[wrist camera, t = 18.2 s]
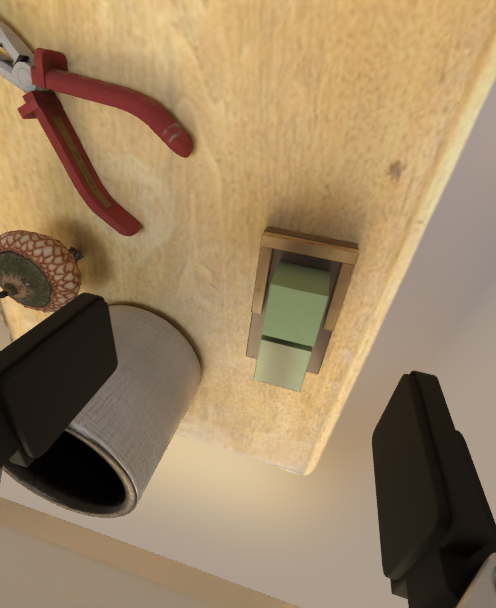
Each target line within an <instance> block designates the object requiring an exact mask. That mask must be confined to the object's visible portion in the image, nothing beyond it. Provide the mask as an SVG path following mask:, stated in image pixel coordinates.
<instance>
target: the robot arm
mask: <svg viewBox="0 0 496 608" xmlns="http://www.w3.org/2000/svg"><path fill="white" fill-rule="evenodd" d="M117 365H118V359H117V353H116V347H115V342H114V336H113V330H112V324H111V318H110V313H109V307H108V304H107V302H105V300H104V298H103V297H101V296H98V295H94V294H90V293H82V294H80V295H78V296H77V297H76V298H74V299H73V300H71V301H70V302H69V303H67V304H66V305H64V306H63V307H62V308H60V309H59V310H57V311H56V312H55V313H53V314H52V315H50V316H49V317H48V318H46V319H45V320H43V321H42V322H41V323H39V324H38V325H36V326H35V327H34V328H32V329H31V330H29V331H28V332H27V333H25V334H24V335H22V336H21V337H20V338H18V339H17V340H15V341H14V342H13V343H11V344H10V345H8V346H7V347H6V348H5V349H3V350H2V351H0V481H1V473H2V467H3V466H4V465H5V463H6V462H7V461H8V460H9V459H10V461H11V462H12V463H15V464H18V465H21V466H24V467H26V468H27V467H28V466H29V465H30V464H31V463H32V462H33V460H34V459H35V458H39V457H41V456H42V455H43V454H44V453H45V452H46V451H47V450H48V449H49V447H50V446H51V445H52V444H53V443H54V442H55V440H56V439H57V438H58V437H59V436H60V435H61V433H62V432H63V431H64V430H65V429H66V428H67V427H68V425H69V424H70V423H71V422H72V421H73V420H74V418H75V417H76V416H77V415H78V414H79V413H80V411H81V410H82V409H83V408H84V407H85V406H86V404H87V403H88V402H89V401H90V400H91V399H92V397H93V396H94V395H95V394H96V393H97V392H98V390H99V389H100V388H101V387H102V386H103V385H104V384H105V382H106V381H107V380H108V379H109V378H110V377H111V375H112V374H113V373H114V372H115V370H116V368H117ZM372 448H373V461H374V473H375V484H376V496H377V508H378V520H379V532H380V543H381V555H382V566H383V571H384V575H385V576H386V577H388V578H390V580H391V590H392V594H394V595H397V596H400V597H403V598H406V599H408V604H409V608H496V524H495V521H494V519H493V516H492V513H491V510H490V507H489V505H488V502H487V499H486V497H485V494H484V491H483V488H482V486H481V483H480V480H479V477H478V475H477V472H476V469H475V466H474V464H473V461H472V458H471V455H470V453H469V450H468V447H467V444H466V442H465V439H464V437H463V436H462V434H461V433H460V432H459V431H457V430H455V427H454V424H453V422H452V419H451V416H450V413H449V410H448V407H447V404H446V401H445V398H444V396H443V393H442V390H441V387H440V384H439V381H438V379H437V377H436V376H435V375H431V374H426V373H422V372H418V371H412V372H411V373H410V374H409V375H408V374H404V375H403V376H402V378H401V379H400V381H399V383H398V385H397V387H396V389H395V391H394V393H393V395H392V397H391V399H390V401H389V403H388V405H387V407H386V409H385V411H384V413H383V414H382V416H381V419H380V420H379V422H378V424H377V426H376V428H375V430H374V433H373V437H372ZM0 608H300V607H297V606H294V605H292V604H289V603H286V602H284V601H281V600H279V599H276V598H273V597H271V596H268V595H265V594H263V593H260V592H257V591H254V590H252V589H249V588H246V587H243V586H241V585H238V584H236V583H233V582H230V581H228V580H225V579H222V578H219V577H217V576H214V575H212V574H209V573H206V572H203V571H201V570H198V569H196V568H193V567H190V566H187V565H185V564H182V563H179V562H177V561H174V560H171V559H168V558H166V557H163V556H160V555H158V554H155V553H152V552H149V551H147V550H144V549H141V548H139V547H136V546H133V545H130V544H128V543H125V542H122V541H119V540H117V539H114V538H111V537H109V536H106V535H103V534H100V533H98V532H95V531H92V530H89V529H87V528H84V527H81V526H78V525H76V524H73V523H70V522H67V521H65V520H62V519H59V518H56V517H53V516H51V515H48V514H45V513H43V512H40V511H37V510H34V509H31V508H29V507H26V506H23V505H20V504H18V503H15V502H12V501H9V500H7V499H4V498H1V497H0Z"/></svg>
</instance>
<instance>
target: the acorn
mask: <svg viewBox="0 0 496 608" xmlns="http://www.w3.org/2000/svg"><path fill="white" fill-rule="evenodd" d="M81 258H84V255H83V253H81V252H79V251H77V249H75V248H74V247H70V249H69V250H68V249H67V247H66V246H64V245H63V244H62V243H61V242H60V241H58V240H56V239H54V238H52V237H50V236H46V235H42V234H38V233H36V232H29V231H23V230H17V231H10V232H6V233H4V234H2V235H0V287H1V288H2V289H3V291H1V292H0V298H4V297H6V296H9V297H11V298H12V299H14V300H15V301H16V302H18V303H20V304H21V305H23V306H24V307H26V308H31V309H35V310H38V311H43V312H56V311H57V310H59V309H60V308H62V307H63V306H64V305H66V304H67V303H69V302H70V301H71V300H73V299H74V298H76V297H77V296H78V292H79V289H80V285H81V272H80V270H79V268H78V265H77V262H78V261H79V260H80V259H81Z"/></svg>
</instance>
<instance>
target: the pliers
mask: <svg viewBox="0 0 496 608" xmlns="http://www.w3.org/2000/svg"><path fill="white" fill-rule="evenodd" d="M0 47H3V48H4V49H5V51H6V52H7V53H8V54H9V56H10V57H11V58H12V59H13V60H14V61H13V60H11V59H10V58H8V57H7V56H5V55H4V54H3V53H1V52H0V75H1V76H2V77H4V78H5V79H6V80H8V81H9V82H11V83H12V84H14V85H15V86H17V87H18V88H20V89H21V90H23V91H24V92H26V93H27V94H25V95H24V96H23V98H24V100H25V102H26V104H24V105H22V106H21V107H19V108H18V111H19V113H20V115H21V116H22V118H23V119H34V118H37V119H38V120H39V122H40V124H41V126H42V128H43V129H44V131H45V133H46V135H47V137H48V139H49V140H50V142H51V144H52V146H53V148H54V149H55V151H56V153H57V155H58V157H59V159H60V160H61V162H62V164H63V166H64V168H65V170H66V171H67V173H68V175H69V177H70V179H71V180H72V182H73V184H74V186H75V188H76V189H77V191H78V192H79V194H80V195H81V197H82V198H83V200H84V201H85V203H86V204H87V205H88V206H89V208H90V209H91V210H92V211H93V212H94V213H95V214H96V215H98V216H99V217H100V218H101V219H103V220H104V221H105V222H106V223H108V224H109V225H110V226H111V227H112V228H114V229H115V230H116V231H117V232H119V233H120V234H122V235H124V236H132V235H134V234H136V233H137V232H138V231H139V230H140V224H139V222H138V221H137V220H136V219H135V218H134V217H133V216H132V215H130V214H129V213H128V212H127V211H126V210H124V209H123V208H122V207H121V206H120V205H118V204H117V203H116V202H115V201H114V200H113V199H112V198H111V197H110V195H109V194H108V193H107V192H106V190H105V189H104V187H103V186H102V184H101V182H100V181H99V179H98V177H97V175H96V173H95V171H94V169H93V167H92V165H91V163H90V162H89V160H88V158H87V156H86V154H85V152H84V150H83V148H82V146H81V144H80V142H79V140H78V138H77V136H76V134H75V132H74V130H73V128H72V126H71V124H70V123H69V121H68V119H67V117H66V115H65V113H64V111H63V109H62V108H63V107H62V105H61V103H60V101H59V99H57V97H56V95H55V93H54V92H49V91H50V90H54V91H57V92H61V93H65V94H68V95H72V96H76V97H79V98H83V99H87V100H91V101H94V102H98V103H102V104H105V105H109V106H113V107H116V108H119V109H122V110H125V111H127V112H129V113H131V114H133V115H135V116H136V117H138V118H139V119H141V120H142V121H143V122H145V123H146V124H147V125H148V126H149V127H150V128H151V129H152V130H153V131H154V132H155V133H156V134H157V135H158V136H159V137H160V138H161V139H162V140H163V142H164V143H165V144H166V145H167V146H168V147H169V148H170V149H171V150H173V151H174V152H175V153H176V154H178V155H179V156H181V157H185V158H186V157H189V156H190V154H191V153H192V150H193V144H192V141H191V139H190V137H189V135H188V134H187V133H186V132H185V131H184V130H183V129H182V128H181V127H180V126H179V125H178V123H177V122H176V121H175V120H174V119H173V118H172V117H171V116H170V115H169V114H168V113H167V112H166V110H165V109H164V108H163V107H162V106H161V105H160V104H159V103H157V102H156V101H154V100H153V99H152V98H150V97H148V96H146V95H144V94H142V93H140V92H137V91H135V90H132V89H129V88H127V87H123V86H119V85H115V84H112V83H108V82H104V81H100V80H97V79H93V78H89V77H85V76H81V75H78V74H74V73H70V72H67V63H66V59H65V57H64V55H63V54H62V53H60V52H57V51H53V50H48V49H43V48H37V49H36V50H35V52H34V54H33V53H32V52H31V51H30V49H29V48H28V47H27V46H26V45H25V44H24V42H23V41H22V40H21V39H20V38H19V37H18V36H17V35H16V34H15V33H14V32H13V31H12V30H11V29H10V28H9V27H8V26H6V25H5V24H4V23H3V22H2V21H1V20H0Z"/></svg>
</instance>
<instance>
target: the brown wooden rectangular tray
mask: <svg viewBox="0 0 496 608" xmlns="http://www.w3.org/2000/svg"><path fill="white" fill-rule="evenodd" d="M358 250H359V248H358V244H354V243H349V242H344V241H339V240H334V239H329V238H323V237H318V236H313V235H308V234H303V233H297V232H292V231H287V230H282V229H277V228H272V227H266V229H265V230H264V233H263V235H262V240H261V247H260V254H259V261H258V268H257V275H256V281H255V288H254V295H253V302H252V309H251V312H252V317H251V324H250V331H249V338H248V344H247V351H246V356H248V357H252V358H256V359H257V363H256V368H255V374H254V380H256V381H259V382H263V383H267V384H271V385H274V386H278V387H282V388H286V389H290V390H293V391H297V392H301V388H302V385H303V381H304V378H305V374H306V371H307V372H310V373H314V374H319V370H320V367H321V364H322V361H323V358H324V355H325V352H326V349H327V346H328V343H329V340H330V337H331V333H332V331H333V330H334V328H335V325H336V322H337V319H338V316H339V313H340V310H341V307H342V303H343V300H344V297H345V294H346V291H347V288H348V285H349V282H350V279H351V276H352V273H353V270H354V267H355V264H356V261H357V258H358V255H359V253H358ZM280 261H281V262H285V263H290V264H295V265H300V266H305V267H309V268H314V269H319V270H324V271H329V272H330V284H329V298H328V301H327V304H326V308H325V311H324V315H323V318H322V321H321V325H320V328H319V332H318V335H317V338H316V342H315V345H314V347H311V346H307V345H303V344H299V343H295V342H291V341H287V340H283V339H279V338H274V337H270V336H266V335H262V330H263V324H264V318H265V313H266V307H267V301H268V295H269V290H270V284H271V282H272V279H273V277H274V274H275V272H276V269H277V267H278V264H279V262H280Z"/></svg>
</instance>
